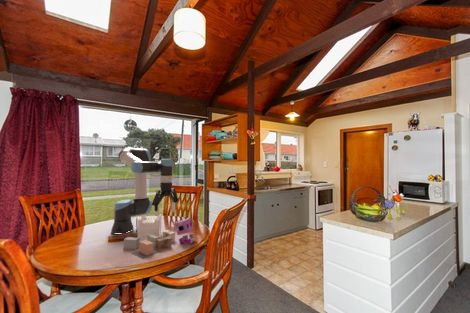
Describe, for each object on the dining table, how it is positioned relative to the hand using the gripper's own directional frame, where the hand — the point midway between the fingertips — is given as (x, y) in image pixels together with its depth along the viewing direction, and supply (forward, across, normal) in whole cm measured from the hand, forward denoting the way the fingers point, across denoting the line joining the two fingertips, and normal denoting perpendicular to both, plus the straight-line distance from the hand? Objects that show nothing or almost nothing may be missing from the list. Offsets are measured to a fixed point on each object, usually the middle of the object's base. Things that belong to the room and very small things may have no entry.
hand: (165, 213), depth 145 cm
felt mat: (+19, -17, -3) cm, 26 cm away
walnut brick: (+20, -6, -6) cm, 21 cm away
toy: (+20, +10, -8) cm, 24 cm away
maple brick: (+20, +5, +2) cm, 20 cm away
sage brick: (+20, -6, +3) cm, 21 cm away
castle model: (+20, 0, +16) cm, 25 cm away
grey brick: (+20, -17, +11) cm, 28 cm away
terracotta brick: (+19, -17, -3) cm, 25 cm away
